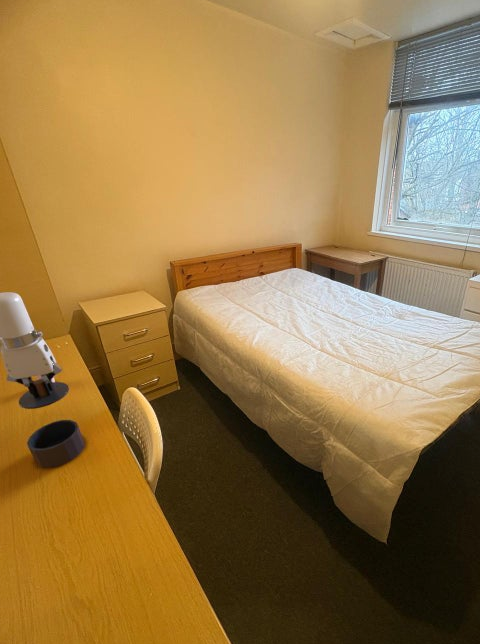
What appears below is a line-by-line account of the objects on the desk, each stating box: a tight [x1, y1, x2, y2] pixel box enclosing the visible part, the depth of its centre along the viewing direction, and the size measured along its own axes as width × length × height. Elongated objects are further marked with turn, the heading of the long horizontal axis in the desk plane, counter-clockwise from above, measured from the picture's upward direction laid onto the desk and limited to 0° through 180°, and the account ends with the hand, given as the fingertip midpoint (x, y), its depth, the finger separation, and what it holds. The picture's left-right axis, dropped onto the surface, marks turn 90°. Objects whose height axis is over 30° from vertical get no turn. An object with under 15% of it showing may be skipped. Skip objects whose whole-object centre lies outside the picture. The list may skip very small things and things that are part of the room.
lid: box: [18, 379, 70, 410], centre depth 93 cm, size 12×12×6 cm
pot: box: [26, 419, 86, 469], centre depth 88 cm, size 11×11×6 cm
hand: (43, 393), depth 94 cm, fingers closed on lid, 2 cm apart
